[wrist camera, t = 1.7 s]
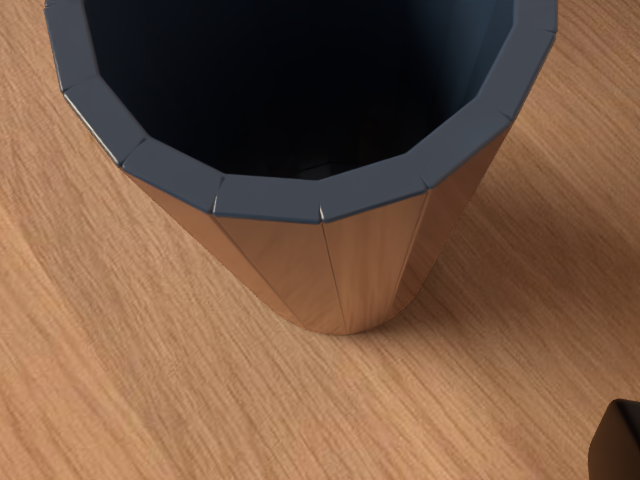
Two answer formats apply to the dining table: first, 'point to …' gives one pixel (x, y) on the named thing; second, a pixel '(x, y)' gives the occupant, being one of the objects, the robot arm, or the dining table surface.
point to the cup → (306, 130)
